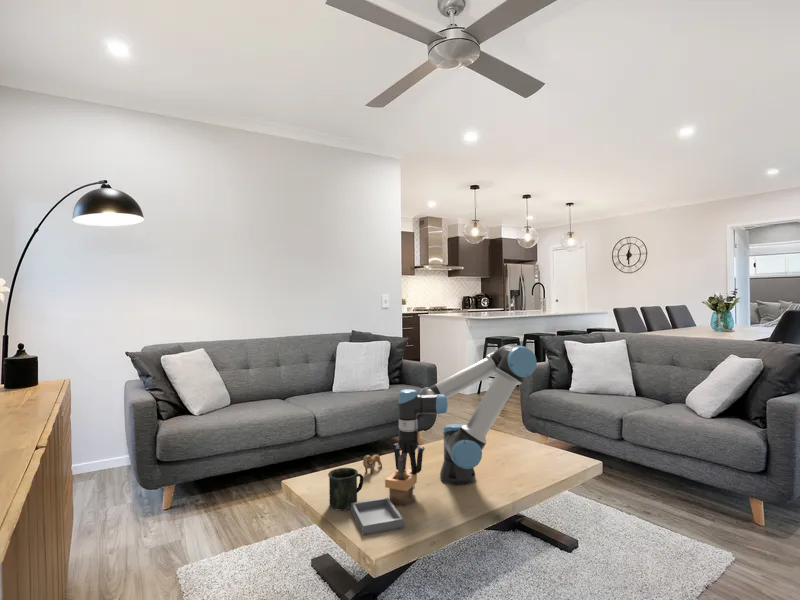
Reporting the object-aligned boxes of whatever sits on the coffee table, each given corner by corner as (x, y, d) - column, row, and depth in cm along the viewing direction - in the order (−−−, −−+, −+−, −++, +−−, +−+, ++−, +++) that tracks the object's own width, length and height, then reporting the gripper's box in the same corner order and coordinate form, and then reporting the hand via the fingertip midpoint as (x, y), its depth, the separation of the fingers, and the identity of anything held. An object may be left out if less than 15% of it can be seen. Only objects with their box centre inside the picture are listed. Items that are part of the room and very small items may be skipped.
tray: (387, 505, 164) (387, 497, 164) (403, 527, 147) (403, 518, 147) (351, 511, 160) (351, 503, 160) (363, 535, 143) (363, 525, 143)
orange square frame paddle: (401, 474, 179) (401, 467, 179) (421, 478, 175) (421, 470, 175) (385, 487, 166) (385, 479, 166) (406, 491, 162) (406, 483, 162)
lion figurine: (371, 478, 191) (371, 457, 191) (360, 476, 193) (360, 456, 193) (384, 466, 205) (384, 447, 205) (373, 465, 207) (373, 446, 207)
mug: (322, 504, 166) (322, 472, 166) (354, 493, 175) (354, 463, 175) (338, 514, 157) (338, 480, 158) (371, 502, 167) (370, 470, 167)
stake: (395, 494, 174) (395, 449, 174) (416, 498, 170) (416, 452, 171) (385, 503, 166) (384, 456, 166) (406, 507, 162) (406, 460, 162)
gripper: (386, 429, 175) (387, 489, 174) (422, 433, 168) (423, 495, 168) (394, 424, 182) (395, 482, 181) (429, 429, 175) (430, 488, 174)
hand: (408, 488), depth 174 cm, fingers closed on orange square frame paddle, 3 cm apart
